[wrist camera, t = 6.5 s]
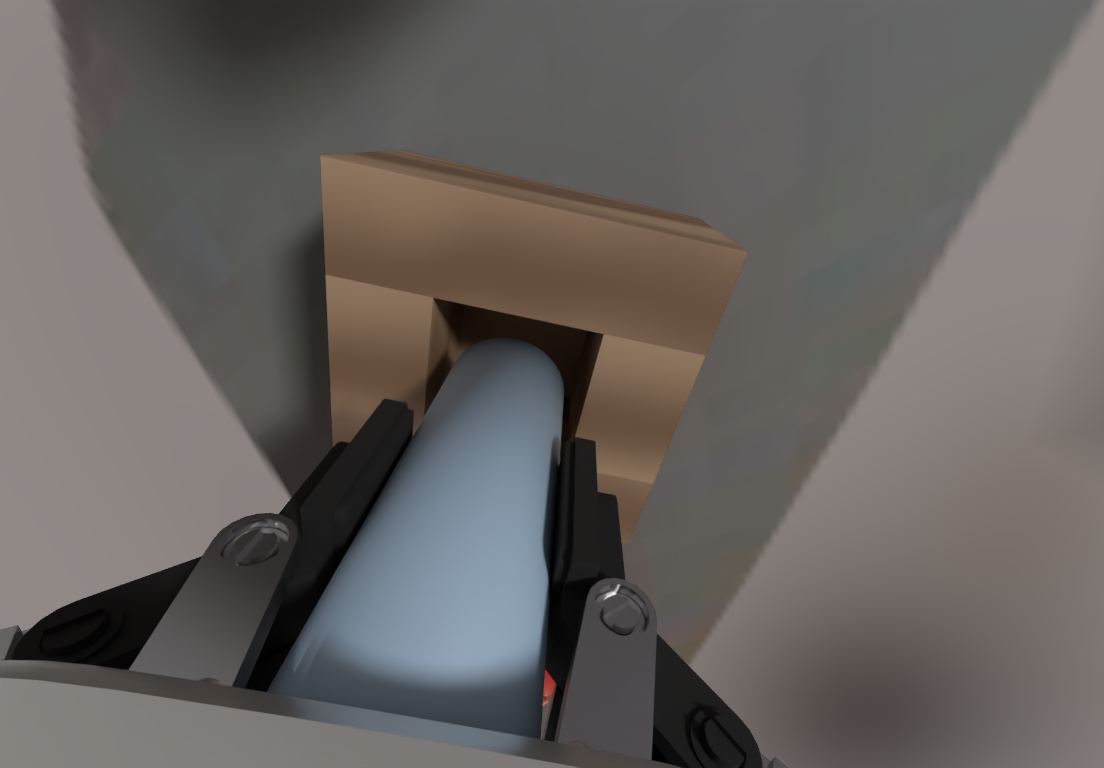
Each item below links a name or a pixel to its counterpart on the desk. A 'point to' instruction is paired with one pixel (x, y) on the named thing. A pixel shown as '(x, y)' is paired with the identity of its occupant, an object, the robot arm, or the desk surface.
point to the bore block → (519, 299)
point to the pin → (451, 560)
